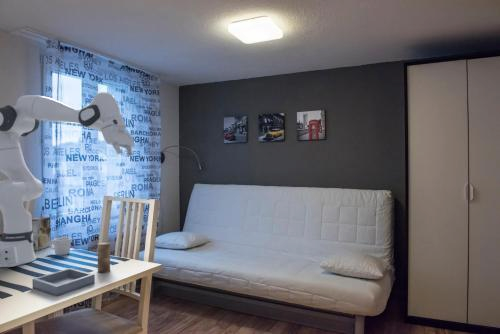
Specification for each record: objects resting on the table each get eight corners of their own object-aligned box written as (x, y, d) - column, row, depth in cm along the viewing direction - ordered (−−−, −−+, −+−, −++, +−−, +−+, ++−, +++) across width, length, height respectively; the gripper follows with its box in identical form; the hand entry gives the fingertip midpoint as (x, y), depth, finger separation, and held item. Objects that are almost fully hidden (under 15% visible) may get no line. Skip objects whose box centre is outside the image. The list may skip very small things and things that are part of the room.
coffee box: (41, 245, 194) (41, 216, 194) (51, 246, 193) (51, 217, 192) (27, 249, 185) (27, 219, 185) (37, 250, 184) (37, 220, 183)
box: (56, 296, 125) (56, 286, 125) (32, 288, 132) (32, 278, 132) (94, 283, 138) (94, 274, 138) (70, 276, 146) (70, 267, 146)
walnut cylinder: (97, 273, 149) (97, 245, 149) (98, 269, 154) (98, 242, 154) (109, 272, 151) (109, 244, 150) (110, 268, 156) (110, 242, 155)
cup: (44, 255, 174) (44, 239, 174) (55, 251, 182) (55, 236, 182) (64, 256, 173) (64, 240, 173) (74, 252, 181) (74, 237, 181)
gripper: (120, 132, 166) (130, 159, 164) (96, 125, 145) (107, 155, 144) (132, 127, 165) (142, 154, 164) (109, 119, 145) (120, 149, 143)
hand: (125, 154), depth 154 cm, fingers open, 8 cm apart
